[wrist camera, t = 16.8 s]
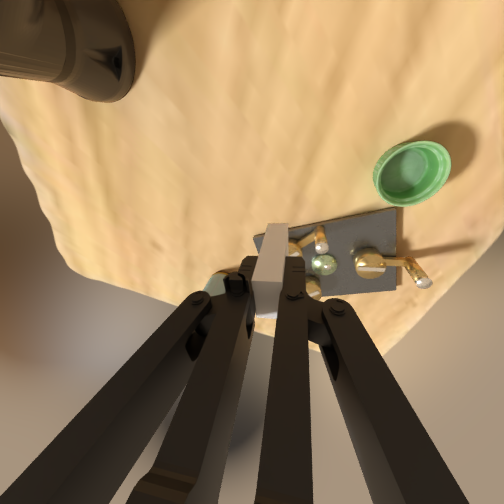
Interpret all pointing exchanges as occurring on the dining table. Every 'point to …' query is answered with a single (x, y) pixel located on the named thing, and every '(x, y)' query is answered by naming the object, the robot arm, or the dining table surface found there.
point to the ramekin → (411, 172)
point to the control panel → (348, 251)
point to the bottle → (215, 284)
